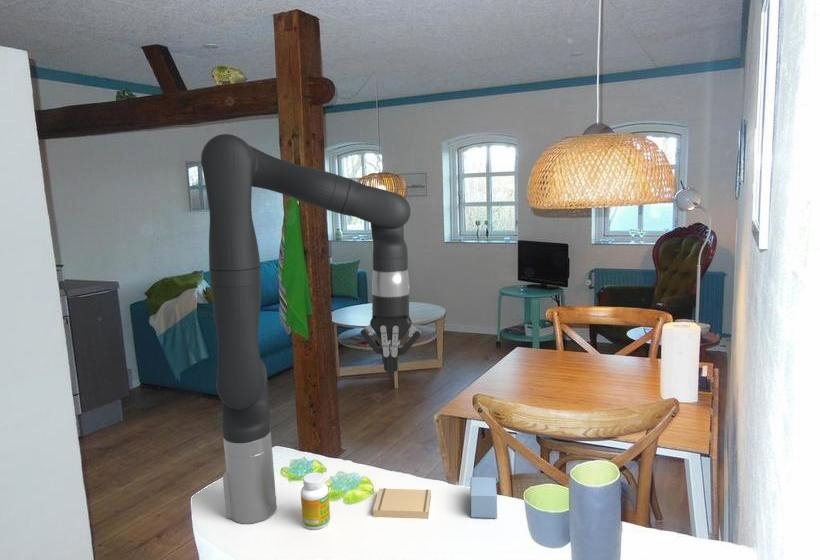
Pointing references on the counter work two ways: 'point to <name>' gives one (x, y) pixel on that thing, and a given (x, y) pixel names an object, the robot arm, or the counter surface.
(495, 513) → the stub
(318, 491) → the supplement bottle
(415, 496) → the board
